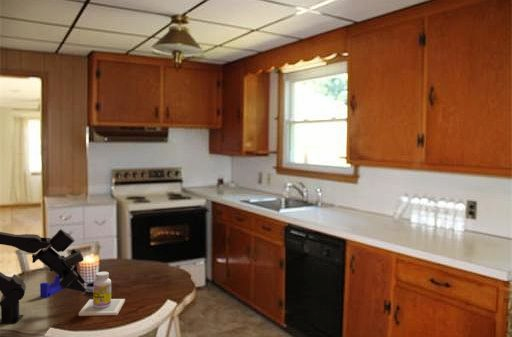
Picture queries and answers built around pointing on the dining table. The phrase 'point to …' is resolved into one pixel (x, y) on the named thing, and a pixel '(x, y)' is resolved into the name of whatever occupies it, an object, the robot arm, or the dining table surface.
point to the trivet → (109, 310)
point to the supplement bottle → (102, 290)
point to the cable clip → (50, 288)
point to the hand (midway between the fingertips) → (84, 286)
